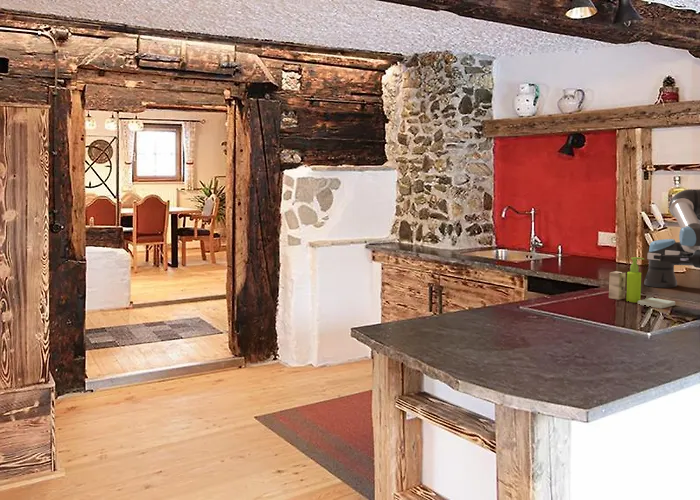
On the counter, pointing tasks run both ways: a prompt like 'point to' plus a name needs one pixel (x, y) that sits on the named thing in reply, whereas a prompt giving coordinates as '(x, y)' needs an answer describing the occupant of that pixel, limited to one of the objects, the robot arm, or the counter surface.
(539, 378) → the counter surface
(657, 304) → the sage pad
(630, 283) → the soap dispenser
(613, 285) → the birch post
